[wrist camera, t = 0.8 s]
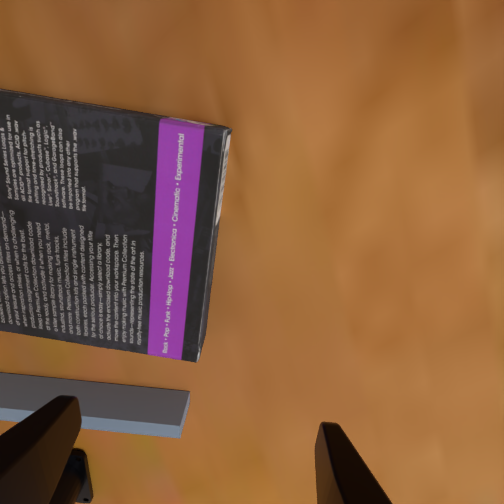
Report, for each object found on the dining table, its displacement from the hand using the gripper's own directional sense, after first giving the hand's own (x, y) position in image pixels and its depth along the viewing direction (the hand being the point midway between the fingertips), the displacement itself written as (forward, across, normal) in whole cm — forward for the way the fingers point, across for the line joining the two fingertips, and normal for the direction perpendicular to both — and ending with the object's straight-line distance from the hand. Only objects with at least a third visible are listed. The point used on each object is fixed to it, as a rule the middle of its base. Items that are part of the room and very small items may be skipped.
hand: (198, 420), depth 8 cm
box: (+14, +11, 0) cm, 18 cm away
